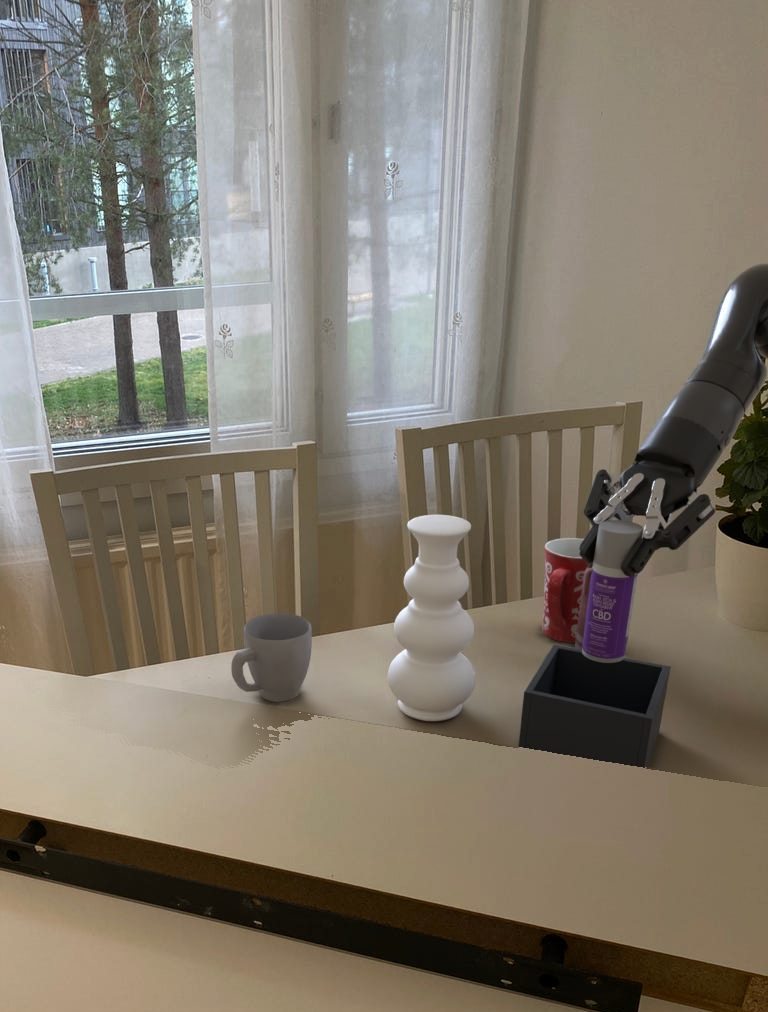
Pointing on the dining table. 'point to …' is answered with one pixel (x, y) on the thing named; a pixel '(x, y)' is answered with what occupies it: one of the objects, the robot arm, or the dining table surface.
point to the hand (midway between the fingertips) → (605, 565)
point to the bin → (594, 707)
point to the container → (610, 593)
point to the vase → (434, 625)
